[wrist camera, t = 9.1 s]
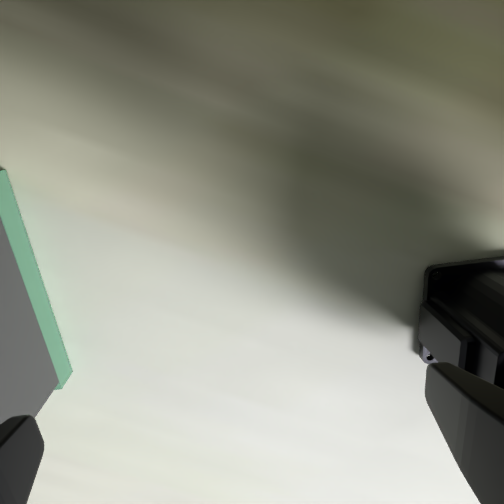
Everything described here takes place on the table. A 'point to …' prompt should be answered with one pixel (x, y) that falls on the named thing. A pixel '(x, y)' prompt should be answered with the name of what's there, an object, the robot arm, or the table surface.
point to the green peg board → (32, 279)
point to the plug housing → (20, 344)
